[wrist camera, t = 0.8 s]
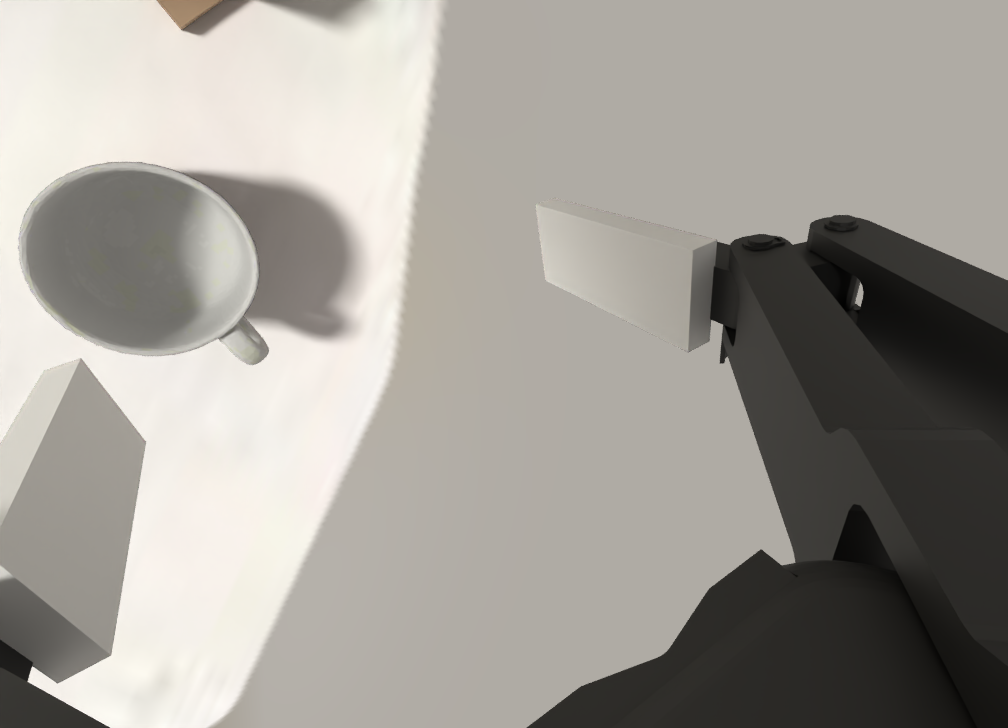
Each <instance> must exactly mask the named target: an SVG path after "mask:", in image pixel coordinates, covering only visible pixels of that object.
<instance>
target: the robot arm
mask: <svg viewBox="0 0 1008 728" xmlns="http://www.w3.org/2000/svg"><path fill="white" fill-rule="evenodd" d="M536 212H537V220H538V228H539V236H540V243H541V251H542V258H543V266H544V274H545V281H547V282H549V283H551V284H553V285H555V286H557V287H559V288H561V289H563V290H565V291H567V292H569V293H571V294H573V295H575V296H577V297H579V298H581V299H583V300H585V301H587V302H589V303H591V304H593V305H595V306H597V307H599V308H601V309H603V310H605V311H607V312H609V313H611V314H613V315H615V316H617V317H619V318H621V319H623V320H625V321H626V322H628V323H631V324H632V325H635V326H636V327H638V328H640V329H642V330H644V331H646V332H648V333H650V334H652V335H654V336H656V337H659V338H661V339H662V340H664V341H666V342H668V343H670V344H672V345H674V346H676V347H678V348H680V349H682V350H684V351H686V352H690V351H692V350H694V349H696V348H698V347H699V346H701V345H703V344H705V343H707V342H709V340H710V327H711V320H714V321H716V322H718V323H721V324H723V333H722V343H721V354H720V363H724V362H725V358H726V357H727V356H728V358H729V361H730V364H731V367H732V370H733V373H734V376H735V379H736V382H737V385H738V388H739V390H740V393H741V397H742V400H743V402H744V405H745V408H746V411H747V414H748V417H749V420H750V423H751V426H752V429H753V432H754V435H755V438H756V441H757V444H758V447H759V450H760V453H761V455H762V459H763V461H764V465H765V467H766V470H767V473H768V476H769V479H770V482H771V485H772V488H773V491H774V494H775V497H776V500H777V503H778V506H779V509H780V512H781V515H782V518H783V521H784V524H785V527H786V530H787V533H788V536H789V538H790V541H791V544H792V547H793V551H794V556H795V562H796V563H793V564H788V565H783V566H782V565H780V564H779V563H778V562H776V561H775V560H774V559H773V558H771V557H770V556H769V555H768V554H766V553H765V552H764V551H763V550H760V551H758V552H757V553H756V554H754V555H753V556H752V557H750V558H749V559H748V560H746V561H745V562H744V563H742V564H741V565H740V566H739V567H737V568H736V569H735V570H733V571H732V572H731V573H729V574H728V575H727V576H725V577H724V578H723V579H721V580H720V581H719V582H718V583H716V584H715V585H714V586H712V587H711V588H710V589H709V590H708V591H707V593H706V594H705V596H704V597H703V599H702V600H701V602H700V603H699V605H698V606H697V608H696V609H695V611H694V613H693V614H692V615H691V617H690V618H689V620H688V621H687V623H686V625H685V626H684V627H683V629H682V631H681V632H680V633H679V635H678V636H677V638H676V639H675V641H674V642H673V644H672V645H671V647H670V648H669V650H668V651H667V652H666V653H665V654H663V655H662V656H660V657H658V658H656V659H653V660H650V661H647V662H645V663H642V664H639V665H637V666H634V667H632V668H629V669H626V670H623V671H621V672H618V673H616V674H613V675H611V676H608V677H605V678H603V679H600V680H597V681H594V682H592V683H589V684H586V685H584V686H581V687H580V688H578V689H577V690H576V691H574V692H573V693H572V694H570V695H569V696H568V697H566V698H565V699H564V700H562V701H561V702H560V703H559V704H557V705H556V706H555V707H553V708H552V709H551V710H549V711H548V712H547V713H546V714H544V715H543V716H542V717H540V718H539V719H538V720H536V721H535V722H534V723H532V724H531V725H530V726H528V727H527V728H1008V280H1005V279H1003V278H1000V277H998V276H995V275H993V274H991V273H989V272H986V271H984V270H982V269H979V268H977V267H975V266H972V265H970V264H968V263H966V262H963V261H961V260H959V259H956V258H954V257H952V256H949V255H947V254H945V253H942V252H940V251H938V250H936V249H933V248H931V247H928V246H926V245H924V244H921V243H919V242H917V241H914V240H912V239H910V238H908V237H905V236H903V235H901V234H898V233H896V232H894V231H891V230H889V229H887V228H884V227H882V226H880V225H877V224H875V223H873V222H870V221H868V220H864V219H861V218H855V217H852V216H849V215H835V216H833V217H829V218H822V219H819V220H816V221H814V222H812V223H811V224H810V229H809V234H808V240H807V242H804V243H799V244H795V245H792V244H791V243H790V242H789V241H788V240H786V239H784V238H782V237H777V236H770V235H766V234H758V235H752V236H747V237H742V238H739V239H736V240H734V241H733V242H732V243H731V245H727V244H724V243H720V242H717V240H716V239H712V238H708V237H704V236H700V235H696V234H692V233H689V232H685V231H681V230H677V229H673V228H669V227H665V226H661V225H657V224H653V223H650V222H646V221H642V220H638V219H634V218H630V217H626V216H622V215H619V214H615V213H610V212H607V211H603V210H599V209H595V208H591V207H588V206H584V205H580V204H576V203H572V202H567V201H564V200H560V199H556V198H553V199H550V200H547V201H544V202H541V203H538V204H536ZM860 282H861V284H862V286H863V291H864V294H863V300H862V304H861V307H860V306H858V305H857V304H855V301H856V297H857V293H858V289H859V285H860ZM145 445H146V441H145V440H144V439H143V438H142V436H141V435H140V434H139V432H138V431H137V430H136V428H135V427H134V426H133V425H132V423H131V422H130V421H129V419H128V418H127V417H126V416H125V414H124V413H123V412H122V410H121V409H120V408H119V407H118V405H117V404H116V403H115V401H114V400H113V399H112V398H111V396H110V395H109V394H108V392H107V391H106V390H105V389H104V387H103V386H102V385H101V383H100V382H99V381H98V379H97V378H96V377H95V376H94V374H93V373H92V372H91V370H90V369H89V368H88V367H87V365H86V364H85V363H84V361H83V360H82V359H81V358H80V359H77V360H74V361H71V362H68V363H65V364H62V365H59V366H56V367H53V368H50V369H47V370H44V371H43V373H42V375H41V376H40V378H39V380H38V381H37V383H36V385H35V386H34V388H33V390H32V391H31V393H30V395H29V396H28V398H27V400H26V401H25V403H24V405H23V407H22V408H21V410H20V412H19V413H18V415H17V417H16V418H15V420H14V422H13V423H12V425H11V427H10V428H9V430H8V432H7V433H6V435H5V437H4V438H3V440H2V442H1V444H0V728H110V727H108V726H106V725H104V724H102V723H101V722H99V721H97V720H95V719H93V718H92V717H90V716H88V715H86V714H84V713H83V712H81V711H79V710H77V709H75V708H73V707H72V706H70V705H68V704H66V703H64V702H63V701H61V700H59V699H57V698H55V697H54V696H52V695H50V694H48V693H46V692H45V691H43V690H41V689H39V688H37V687H36V686H34V685H32V684H30V683H28V682H27V681H28V678H29V674H30V671H31V668H32V666H33V667H35V668H36V669H37V670H39V671H40V672H42V673H43V674H45V675H46V676H48V677H49V678H50V679H52V680H53V681H55V682H56V683H59V682H61V681H63V680H65V679H67V678H69V677H71V676H73V675H75V674H77V673H78V672H80V671H82V670H84V669H86V668H88V667H90V666H92V665H94V664H96V663H98V662H99V661H101V660H103V659H105V658H107V657H109V656H111V653H112V647H113V641H114V635H115V629H116V622H117V616H118V610H119V604H120V598H121V592H122V586H123V580H124V573H125V567H126V561H127V555H128V549H129V543H130V537H131V531H132V524H133V518H134V512H135V506H136V500H137V494H138V488H139V482H140V475H141V469H142V463H143V457H144V451H145Z"/></svg>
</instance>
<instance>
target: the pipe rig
mask: <svg viewBox="0 0 1008 728" xmlns="http://www.w3.org/2000/svg"><path fill="white" fill-rule="evenodd" d="M157 1H158V2H159V4H160V5H161V6H162V7H163V8H164V10H165V11H166V12H167V13H168V14H169V16H170V17H171V18H172V19H173V20H174V22H175V23H176V24H177V25H178V26H179V28H180V29H181V30H182V29H184V28H185V27H187V26H188V25H189V24H191V23H192V22H194V21H195V20H197V19H198V18H199V17H201V16H202V15H204V14H205V13H206V12H208V11H209V10H211V9H212V8H213V7H215V6H216V5H218V4H219V3H220V2H222V1H223V0H157Z"/></svg>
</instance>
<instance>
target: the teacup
mask: <svg viewBox="0 0 1008 728" xmlns="http://www.w3.org/2000/svg"><path fill="white" fill-rule="evenodd" d="M18 249H19V260H20V265H21V269H22V272H23V275H24V277H25V280H26V282H27V284H28V286H29V288H30V290H31V292H32V293H33V295H34V296H35V297H36V299H37V301H38V302H39V303H40V305H41V306H42V307H43V308H44V309H45V311H46V312H48V313H49V314H50V315H51V316H52V317H53V318H54V319H55V320H56V321H57V322H58V323H60V324H61V325H62V326H63V327H64V328H65V329H68V330H70V331H71V332H73V333H74V334H75V335H77V336H80V337H83V338H84V339H85V340H88V341H90V342H92V343H94V344H95V345H98V346H102V347H104V348H106V349H110V350H113V351H117V352H120V353H125V354H134V355H142V356H164V355H175V354H179V353H183V352H187V351H191V350H194V349H197V348H199V347H202V346H204V345H206V344H208V343H210V342H212V341H214V340H216V339H219V340H220V341H221V342H222V343H223V344H224V345H225V346H226V347H227V348H228V349H229V351H230V352H231V353H233V354H234V355H235V356H236V357H237V358H238V359H240V360H241V361H243V362H244V363H246V364H249V365H254V364H257V363H259V362H261V361H262V360H263V359H264V358H265V357H266V356H267V355H268V352H269V348H268V346H267V344H266V343H265V341H264V339H263V338H262V337H261V336H260V334H259V333H258V332H257V331H256V330H255V328H254V327H253V326H252V325H251V324H250V323H249V322H248V321H247V319H246V318H245V317H244V314H245V313H246V312H247V310H248V309H249V307H250V305H251V303H252V301H253V299H254V296H255V293H256V291H257V288H258V282H259V274H260V269H259V260H258V254H257V249H256V246H255V243H254V240H253V239H252V237H251V234H250V232H249V230H248V228H247V226H246V225H245V223H244V222H243V220H242V219H241V217H240V216H239V215H238V214H237V212H236V211H235V210H234V208H233V207H232V206H231V205H230V204H229V203H228V202H227V201H226V200H225V199H224V198H222V197H221V196H220V195H219V194H217V193H216V192H215V191H213V190H212V189H211V188H209V187H208V186H206V185H204V184H203V183H201V182H199V181H197V180H196V179H194V178H191V177H189V176H187V175H185V174H183V173H180V172H178V171H175V170H172V169H169V168H165V167H161V166H157V165H153V164H146V163H142V162H108V163H104V164H97V165H92V166H88V167H85V168H82V169H79V170H76V171H73V172H71V173H68V174H66V175H65V176H63V177H61V178H59V179H57V180H55V181H54V182H53V183H51V184H50V185H49V186H48V187H46V188H45V189H44V190H43V191H42V192H41V193H40V194H39V195H38V196H37V197H36V198H35V199H34V200H33V201H32V203H31V204H30V206H29V208H28V209H27V211H26V213H25V215H24V218H23V221H22V224H21V227H20V234H19V245H18Z"/></svg>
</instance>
